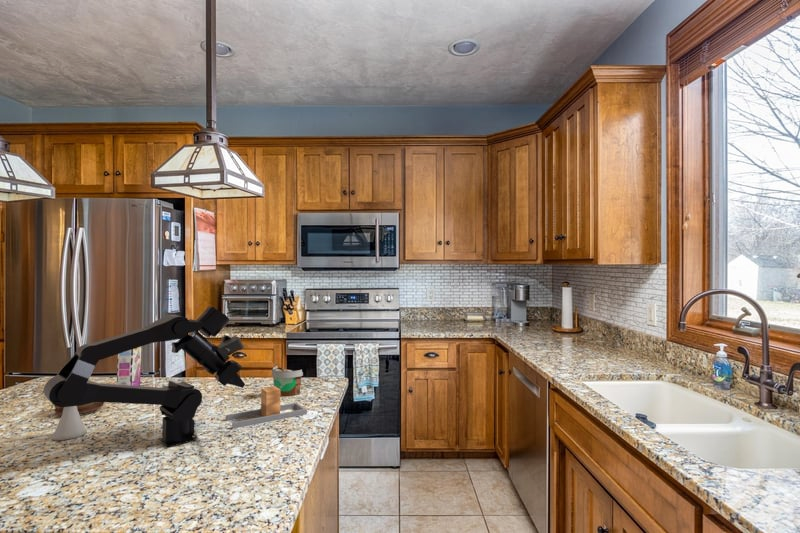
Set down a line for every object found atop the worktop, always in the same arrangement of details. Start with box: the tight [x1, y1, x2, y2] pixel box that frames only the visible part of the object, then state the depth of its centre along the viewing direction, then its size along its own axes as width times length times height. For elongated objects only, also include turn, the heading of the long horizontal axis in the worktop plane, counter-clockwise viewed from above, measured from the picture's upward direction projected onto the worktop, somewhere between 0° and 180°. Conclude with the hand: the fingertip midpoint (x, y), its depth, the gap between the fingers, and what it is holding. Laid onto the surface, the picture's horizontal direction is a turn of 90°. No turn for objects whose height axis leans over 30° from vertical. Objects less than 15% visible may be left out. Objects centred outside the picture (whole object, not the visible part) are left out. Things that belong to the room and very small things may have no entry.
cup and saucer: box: [53, 402, 105, 416], centre depth 128 cm, size 12×12×6 cm
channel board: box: [225, 402, 308, 430], centre depth 121 cm, size 21×9×3 cm, turn 125°
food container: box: [270, 365, 304, 397], centre depth 144 cm, size 12×6×10 cm, turn 62°
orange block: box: [260, 385, 281, 417], centre depth 121 cm, size 4×5×8 cm
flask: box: [51, 406, 87, 441], centre depth 109 cm, size 7×7×10 cm
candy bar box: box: [116, 346, 143, 386], centre depth 152 cm, size 11×5×16 cm, turn 17°
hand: (243, 385), depth 117 cm, fingers closed
